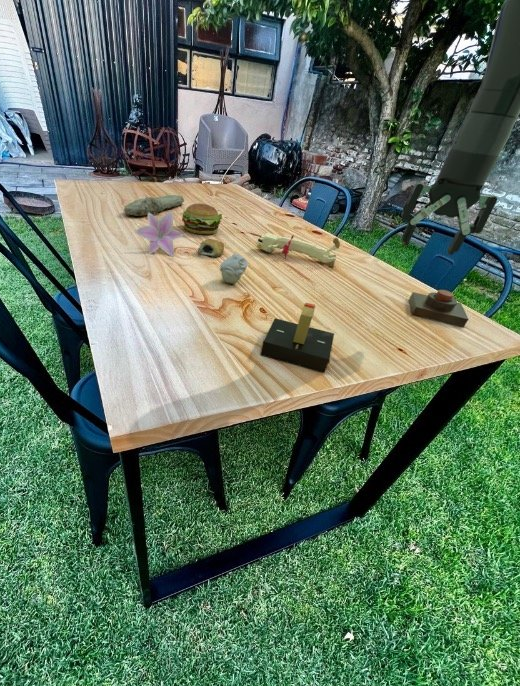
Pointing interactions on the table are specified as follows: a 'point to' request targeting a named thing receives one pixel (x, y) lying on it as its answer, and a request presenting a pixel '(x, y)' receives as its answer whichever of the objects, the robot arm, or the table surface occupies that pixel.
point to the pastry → (211, 248)
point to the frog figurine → (233, 268)
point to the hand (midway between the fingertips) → (427, 248)
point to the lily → (160, 233)
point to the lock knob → (304, 323)
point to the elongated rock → (152, 205)
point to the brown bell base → (437, 309)
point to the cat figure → (298, 247)
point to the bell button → (444, 295)
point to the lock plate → (298, 346)
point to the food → (201, 219)
